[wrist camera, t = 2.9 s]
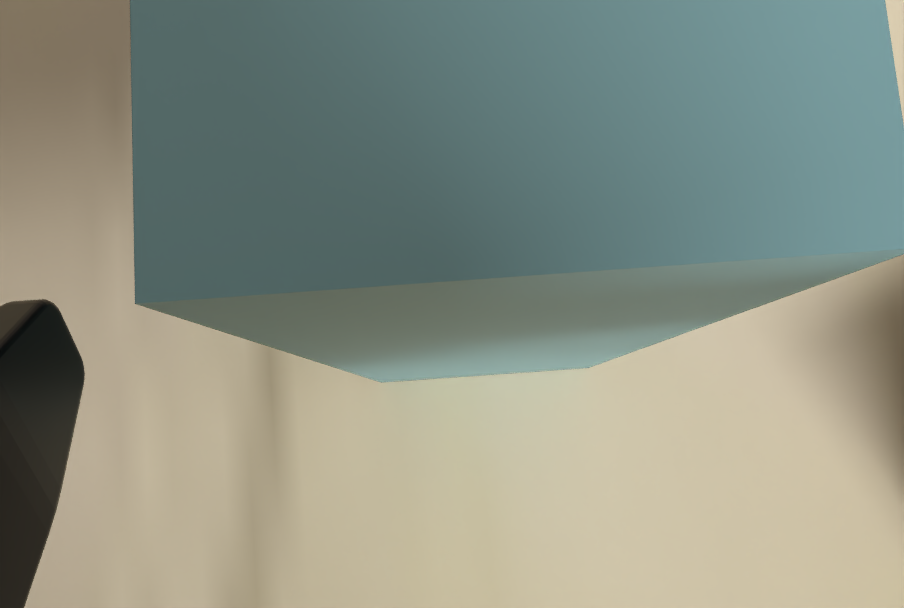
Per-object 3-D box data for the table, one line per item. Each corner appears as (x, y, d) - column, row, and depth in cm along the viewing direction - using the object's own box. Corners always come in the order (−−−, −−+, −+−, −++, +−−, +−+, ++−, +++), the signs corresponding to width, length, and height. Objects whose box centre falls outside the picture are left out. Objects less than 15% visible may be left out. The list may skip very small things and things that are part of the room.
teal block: (587, 368, 17) (922, 247, 5) (381, 382, 18) (134, 302, 5) (569, 166, 18) (819, -439, 5) (369, 181, 18) (125, -383, 5)
